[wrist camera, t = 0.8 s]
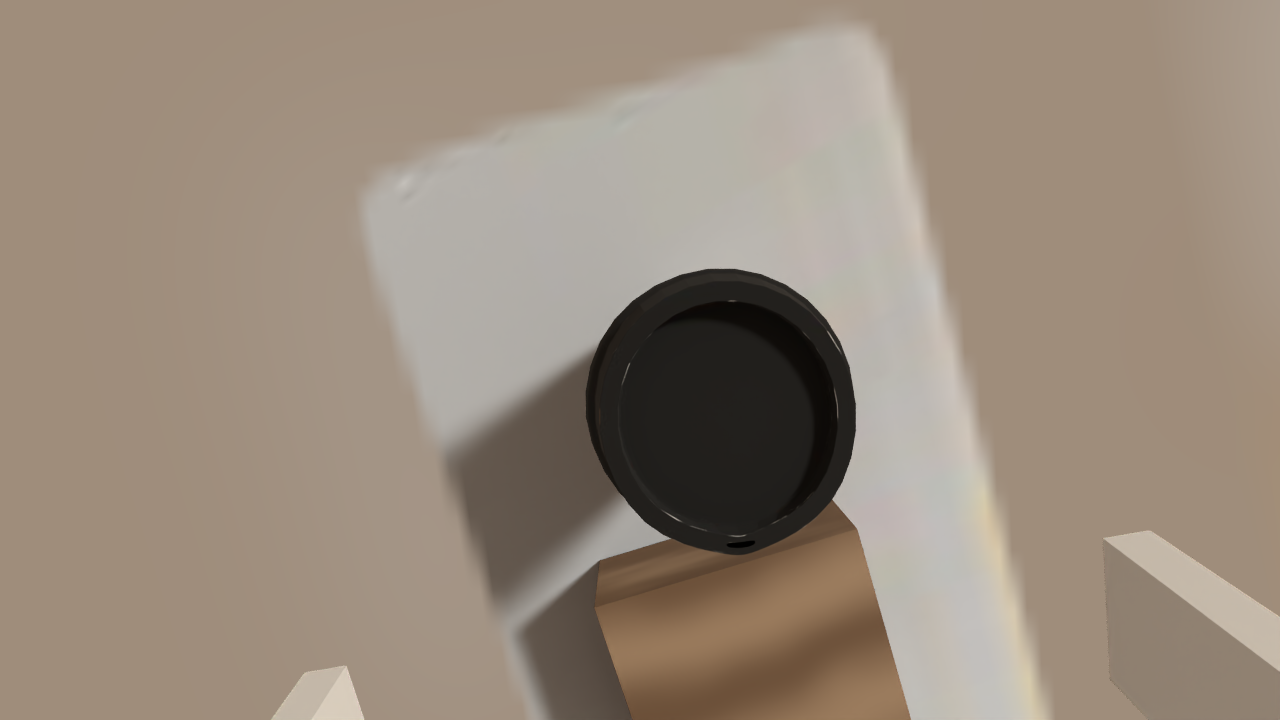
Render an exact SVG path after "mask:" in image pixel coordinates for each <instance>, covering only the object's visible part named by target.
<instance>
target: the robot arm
mask: <svg viewBox="0 0 1280 720" xmlns="http://www.w3.org/2000/svg"><path fill="white" fill-rule="evenodd" d="M1103 551H1104V552H1103V553H1104V573H1105V593H1106V610H1107V632H1108V653H1109V673H1110V680H1111V681H1112V682H1113V684H1114V685H1115V686H1116V687H1117V688H1118V689H1119V690H1120V691H1121V692H1122V693H1123V694H1124V695H1125V696H1126V697H1127V698H1128V699H1129V700H1130V701H1131V702H1132V703H1133V705H1134V706H1135V707H1136V708H1137V709H1138V710H1139V711H1140V712H1141V713H1142V714H1143V715H1144V716H1145V717H1146V718H1147V719H1148V720H1280V617H1279V616H1278V615H1276V614H1274V613H1273V612H1272V611H1270V610H1268V609H1267V608H1265V607H1264V606H1263V605H1261V604H1260V603H1258V602H1257V601H1255V600H1254V599H1252V598H1250V597H1249V596H1248V595H1246V594H1245V593H1243V592H1241V591H1240V590H1239V589H1237V588H1236V587H1234V586H1232V585H1231V584H1230V583H1228V582H1226V581H1225V580H1224V579H1222V578H1220V577H1219V576H1218V575H1216V574H1215V573H1213V572H1212V571H1210V570H1208V569H1207V568H1205V567H1204V566H1203V565H1201V564H1200V563H1198V562H1197V561H1195V560H1193V559H1192V558H1191V557H1189V556H1188V555H1186V554H1184V553H1183V552H1182V551H1180V550H1178V549H1177V548H1176V547H1174V546H1173V545H1171V544H1169V543H1168V542H1167V541H1165V540H1164V539H1162V538H1161V537H1159V536H1158V535H1156V534H1155V533H1153V532H1151V531H1150V530H1148V531H1142V532H1137V533H1131V534H1125V535H1119V536H1113V537H1107V538H1103ZM271 720H364V717H363V714H362V711H361V708H360V705H359V702H358V699H357V696H356V693H355V690H354V687H353V684H352V681H351V678H350V675H349V672H348V669H347V666H340V667H334V668H328V669H323V670H316V671H311V672H305V673H304V674H303V676H302V677H301V679H300V680H299V681H298V683H297V684H296V685H295V687H294V688H293V690H292V691H291V692H290V694H289V695H288V696H287V698H286V699H285V701H284V702H283V704H282V705H281V706H280V708H279V709H278V710H277V712H276V713H275V715H274V716H273V717H272V719H271Z"/></svg>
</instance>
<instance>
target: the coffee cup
mask: <svg viewBox="0 0 1280 720" xmlns="http://www.w3.org/2000/svg"><path fill="white" fill-rule="evenodd" d="M586 419H587V423H588V427H589V432H590V436H591V441H592V444H593V447H594V449H595V451H596V453H597V456H598V458H599V460H600V463H601V465H602V467H603V469H604V471H605V473H606V474H607V475H608V477H609V478H610V480H611V481H612V483H613V484H614V486H615V487H616V489H617V490H618V491H619V493H620V494H621V495H622V496H623V497H624V498H625V499H626V501H627V502H628V504H629V505H630V506H631V507H632V508H633V509H634V511H635V512H636V513H637V514H638V515H639V516H640V517H641V518H642V519H643V520H644V521H645V522H646V523H647V524H649V525H650V526H651V527H653V528H654V529H656V530H657V531H659V532H660V533H661V534H663V535H665V536H667V537H669V538H671V539H673V540H676V541H678V542H680V543H682V544H686V545H689V546H692V547H695V548H698V549H703V550H707V551H712V552H717V553H722V554H729V555H745V554H749V553H753V552H755V551H758V550H761V549H763V548H766V547H768V546H770V545H772V544H775V543H777V542H779V541H781V540H783V539H785V538H787V537H789V536H790V535H792V534H794V533H796V532H798V531H799V530H801V529H802V528H803V527H805V526H806V525H807V524H809V523H810V522H811V521H813V520H814V519H815V518H816V517H817V516H818V515H819V514H820V513H821V512H822V511H823V510H824V509H825V507H826V506H827V505H828V504H829V503H830V502H831V500H832V499H833V497H834V495H835V494H836V492H837V490H838V488H839V487H840V485H841V483H842V482H843V479H844V476H845V473H846V471H847V468H848V465H849V462H850V459H851V456H852V450H853V444H854V438H855V432H856V403H855V398H854V391H853V385H852V379H851V373H850V367H849V364H848V362H847V359H846V356H845V354H844V351H843V348H842V346H841V343H840V341H839V339H838V338H837V336H836V335H835V333H834V331H833V330H832V328H831V327H830V325H829V323H828V322H827V320H826V319H825V318H824V317H823V316H822V315H821V314H820V312H819V311H818V310H817V309H816V308H815V307H814V306H813V305H812V304H811V303H810V302H809V301H808V300H807V299H806V298H804V297H803V296H801V295H800V294H798V293H797V292H796V291H794V290H793V289H791V288H790V287H788V286H787V285H785V284H783V283H781V282H778V281H776V280H773V279H771V278H769V277H766V276H764V275H762V274H757V273H753V272H748V271H743V270H738V269H705V270H701V271H696V272H691V273H687V274H682V275H679V276H677V277H674V278H672V279H670V280H667V281H665V282H663V283H660V284H658V285H656V286H654V287H652V288H651V289H650V290H648V291H647V292H645V293H644V294H642V295H641V296H639V297H638V298H636V299H635V300H633V301H632V302H631V303H630V304H629V305H628V306H627V307H626V308H625V309H624V310H623V311H622V312H621V313H620V314H619V315H618V316H617V318H616V319H615V320H614V321H613V323H612V324H611V326H610V327H609V329H608V330H607V332H606V333H605V335H604V336H603V338H602V340H601V341H600V343H599V346H598V348H597V351H596V353H595V356H594V358H593V361H592V363H591V366H590V371H589V377H588V382H587V388H586Z"/></svg>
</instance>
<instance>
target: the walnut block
mask: <svg viewBox="0 0 1280 720" xmlns="http://www.w3.org/2000/svg"><path fill="white" fill-rule="evenodd" d="M594 608H595V611H596V614H597V617H598V620H599V623H600V626H601V629H602V632H603V635H604V638H605V641H606V644H607V647H608V650H609V652H610V655H611V658H612V661H613V664H614V667H615V670H616V673H617V676H618V679H619V682H620V685H621V688H622V691H623V694H624V696H625V699H626V702H627V705H628V708H629V711H630V714H631V717H632V720H911V718H910V714H909V711H908V707H907V704H906V700H905V697H904V693H903V690H902V686H901V683H900V679H899V675H898V672H897V668H896V665H895V661H894V658H893V654H892V651H891V647H890V644H889V640H888V637H887V633H886V629H885V626H884V622H883V619H882V615H881V612H880V608H879V605H878V601H877V598H876V594H875V591H874V587H873V583H872V580H871V576H870V573H869V569H868V566H867V562H866V559H865V555H864V552H863V548H862V544H861V541H860V537H859V534H858V530H857V528H856V527H855V526H854V525H853V524H852V522H851V521H850V520H849V519H848V518H847V517H846V515H845V514H844V513H843V512H842V511H841V510H840V508H839V507H838V506H837V505H836V504H835V502H834V501H833V500H831V502H830V503H829V504H828V505H827V506H826V507H825V509H824V510H823V511H822V512H821V513H820V514H819V515H818V516H817V517H816V518H815V519H814V520H813V521H811V522H810V523H809V524H807V525H806V526H805V527H803V528H802V529H801V530H799V531H798V532H796V533H794V534H792V535H790V536H789V537H787V538H785V539H783V540H781V541H779V542H777V543H775V544H772V545H770V546H768V547H766V548H763V549H761V550H758V551H755V552H753V553H749V554H745V555H729V554H722V553H717V552H712V551H707V550H703V549H698V548H695V547H692V546H689V545H686V544H682V543H680V542H678V541H676V540H673V539H669V540H666V541H663V542H659V543H656V544H653V545H649V546H646V547H643V548H640V549H636V550H633V551H630V552H626V553H623V554H620V555H616V556H613V557H610V558H606V559H603V560H600V563H599V572H598V580H597V589H596V597H595V606H594Z"/></svg>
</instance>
